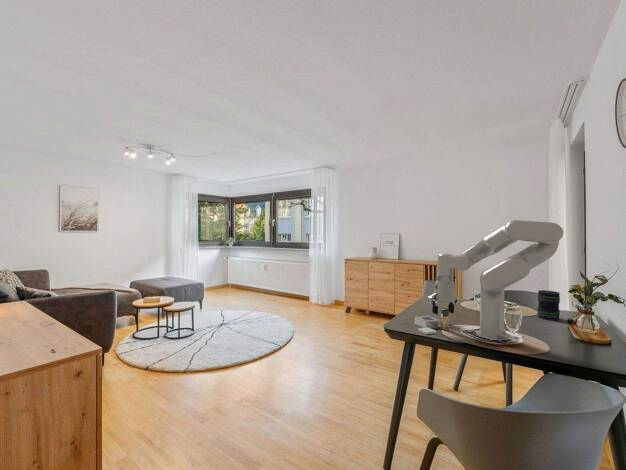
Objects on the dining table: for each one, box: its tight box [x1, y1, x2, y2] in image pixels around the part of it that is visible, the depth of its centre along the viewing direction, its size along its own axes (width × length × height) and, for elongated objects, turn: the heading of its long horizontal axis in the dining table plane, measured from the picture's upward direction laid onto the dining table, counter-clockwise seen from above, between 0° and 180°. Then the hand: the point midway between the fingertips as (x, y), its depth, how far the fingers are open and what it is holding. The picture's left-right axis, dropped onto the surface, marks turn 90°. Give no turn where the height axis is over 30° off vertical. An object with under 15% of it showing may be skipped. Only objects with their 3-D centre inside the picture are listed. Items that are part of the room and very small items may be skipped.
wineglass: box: [422, 279, 437, 317], centre depth 167 cm, size 8×8×21 cm
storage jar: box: [537, 289, 561, 322], centre depth 171 cm, size 10×10×15 cm
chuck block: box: [414, 315, 441, 329], centre depth 157 cm, size 12×9×4 cm
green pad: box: [417, 327, 437, 335], centre depth 145 cm, size 6×6×1 cm
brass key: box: [440, 307, 450, 331], centre depth 149 cm, size 4×4×10 cm
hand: (443, 313), depth 150 cm, fingers open, 9 cm apart
